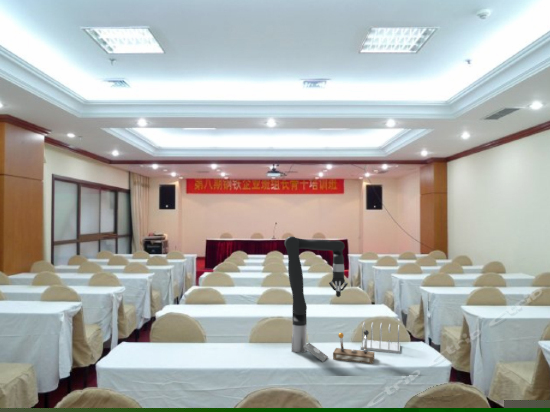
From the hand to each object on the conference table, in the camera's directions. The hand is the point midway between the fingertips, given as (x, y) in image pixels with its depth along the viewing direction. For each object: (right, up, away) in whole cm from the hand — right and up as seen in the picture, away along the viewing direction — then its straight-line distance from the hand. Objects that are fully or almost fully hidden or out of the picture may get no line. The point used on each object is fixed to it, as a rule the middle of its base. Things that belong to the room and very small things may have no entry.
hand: (338, 296), depth 272 cm
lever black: (+13, -30, -21) cm, 39 cm away
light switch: (-17, -35, -18) cm, 42 cm away
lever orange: (0, -30, -16) cm, 34 cm away
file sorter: (+29, -36, +5) cm, 46 cm away
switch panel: (+7, -34, -18) cm, 40 cm away
